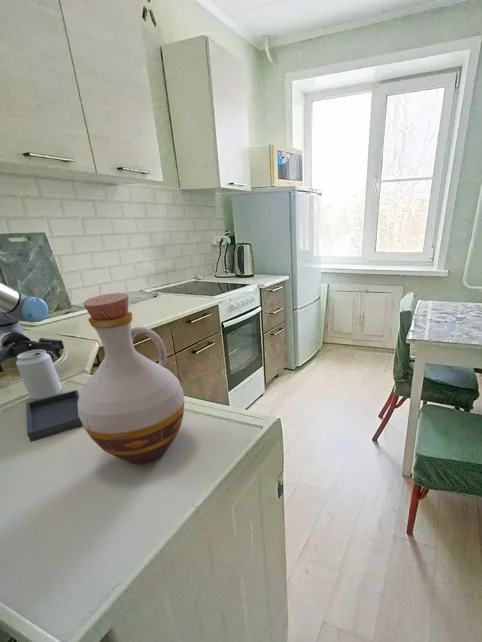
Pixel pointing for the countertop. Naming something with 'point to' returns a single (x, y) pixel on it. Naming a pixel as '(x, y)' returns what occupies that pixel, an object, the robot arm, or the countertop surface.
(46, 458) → the countertop surface
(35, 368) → the can
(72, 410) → the tray
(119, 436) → the jug
